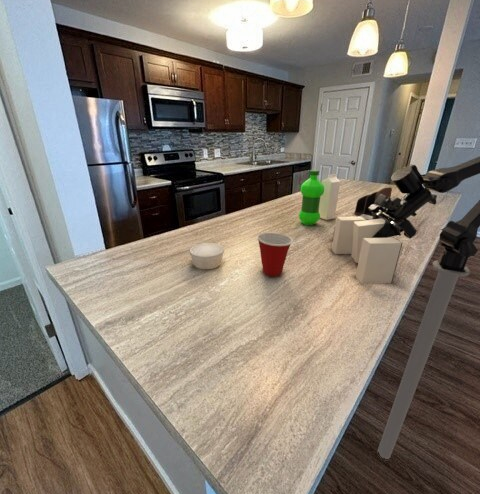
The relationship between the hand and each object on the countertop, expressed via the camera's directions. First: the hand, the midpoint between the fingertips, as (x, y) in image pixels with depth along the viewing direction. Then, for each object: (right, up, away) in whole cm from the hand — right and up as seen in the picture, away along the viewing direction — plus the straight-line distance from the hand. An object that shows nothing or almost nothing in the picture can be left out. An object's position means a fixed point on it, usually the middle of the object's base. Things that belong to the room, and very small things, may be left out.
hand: (368, 237), depth 84 cm
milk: (+3, +11, +51) cm, 52 cm away
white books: (-2, -9, +4) cm, 10 cm away
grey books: (+9, +1, +28) cm, 29 cm away
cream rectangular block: (+1, -7, +3) cm, 8 cm away
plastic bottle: (-8, +7, +42) cm, 44 cm away
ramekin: (-52, -9, +4) cm, 53 cm away
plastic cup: (-31, -11, -1) cm, 33 cm away
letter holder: (+31, +14, +59) cm, 68 cm away
